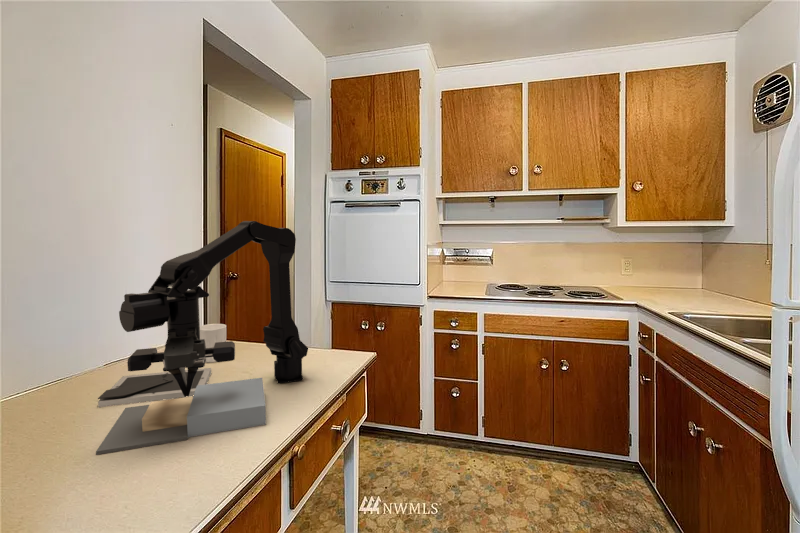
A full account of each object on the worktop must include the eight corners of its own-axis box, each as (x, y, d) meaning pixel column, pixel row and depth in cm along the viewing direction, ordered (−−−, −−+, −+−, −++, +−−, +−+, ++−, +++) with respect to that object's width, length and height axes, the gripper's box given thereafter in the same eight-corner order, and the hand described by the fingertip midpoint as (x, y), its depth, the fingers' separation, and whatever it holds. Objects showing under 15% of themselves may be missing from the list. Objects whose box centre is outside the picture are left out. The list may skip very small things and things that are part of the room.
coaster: (194, 407, 85) (194, 396, 85) (189, 424, 77) (189, 412, 77) (151, 413, 82) (151, 402, 82) (142, 431, 74) (141, 419, 74)
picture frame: (98, 410, 86) (202, 398, 93) (97, 398, 86) (202, 386, 92) (123, 383, 101) (211, 375, 108) (122, 373, 101) (211, 365, 107)
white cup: (220, 363, 115) (218, 330, 114) (193, 363, 115) (192, 329, 114) (231, 355, 123) (230, 323, 122) (207, 354, 123) (205, 323, 122)
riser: (262, 393, 94) (262, 377, 93) (265, 424, 79) (265, 405, 79) (197, 402, 89) (196, 385, 88) (187, 437, 74) (186, 416, 73)
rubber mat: (198, 400, 90) (197, 398, 89) (187, 439, 73) (186, 436, 73) (125, 410, 84) (125, 407, 84) (96, 454, 68) (95, 451, 68)
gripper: (116, 335, 68) (121, 421, 70) (232, 326, 75) (234, 405, 76) (133, 321, 78) (137, 396, 80) (234, 315, 85) (236, 384, 87)
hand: (186, 395), depth 80 cm, fingers closed
